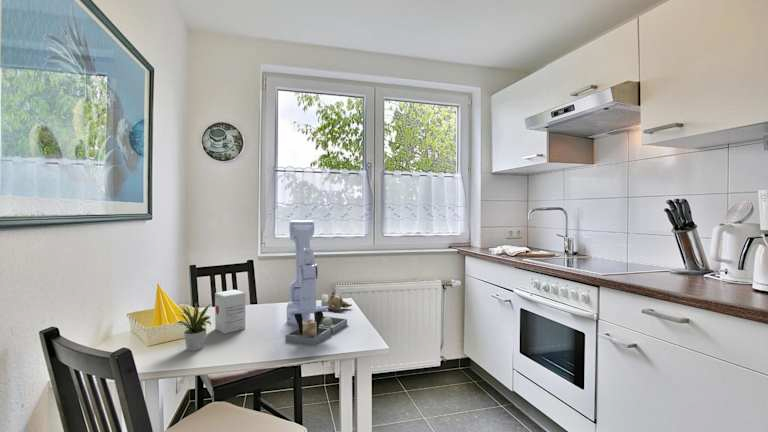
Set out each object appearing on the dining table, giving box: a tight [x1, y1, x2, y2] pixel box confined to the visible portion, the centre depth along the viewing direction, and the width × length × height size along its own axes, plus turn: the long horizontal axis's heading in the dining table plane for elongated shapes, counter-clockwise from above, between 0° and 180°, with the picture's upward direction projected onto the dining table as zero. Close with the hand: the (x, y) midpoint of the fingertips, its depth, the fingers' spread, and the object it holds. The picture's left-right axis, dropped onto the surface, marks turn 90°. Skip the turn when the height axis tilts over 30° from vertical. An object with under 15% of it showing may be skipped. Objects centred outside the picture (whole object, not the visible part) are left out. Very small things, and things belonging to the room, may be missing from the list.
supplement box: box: [214, 289, 246, 335], centre depth 151 cm, size 9×9×15 cm
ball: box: [322, 316, 332, 327], centre depth 151 cm, size 4×4×4 cm
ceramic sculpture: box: [320, 292, 353, 312], centre depth 180 cm, size 11×9×15 cm
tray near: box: [284, 327, 332, 347], centre depth 139 cm, size 12×12×3 cm
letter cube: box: [302, 318, 317, 337], centre depth 139 cm, size 5×5×5 cm
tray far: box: [319, 315, 348, 335], centre depth 151 cm, size 12×12×3 cm
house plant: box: [175, 301, 212, 352], centre depth 129 cm, size 14×14×16 cm
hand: (308, 332), depth 139 cm, fingers closed on letter cube, 5 cm apart
